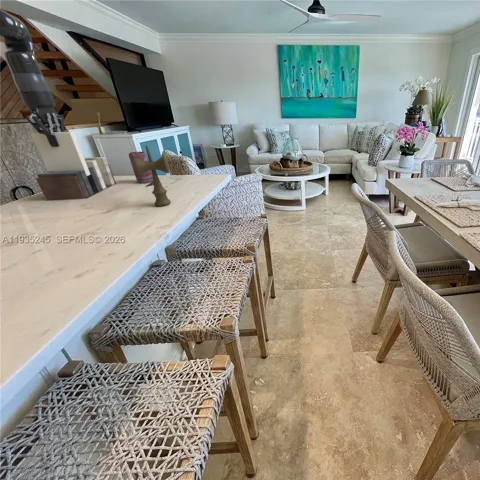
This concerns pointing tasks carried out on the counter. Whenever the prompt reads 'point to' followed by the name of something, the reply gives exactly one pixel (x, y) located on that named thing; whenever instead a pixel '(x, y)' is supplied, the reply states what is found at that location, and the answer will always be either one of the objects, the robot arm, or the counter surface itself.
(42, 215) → the counter surface
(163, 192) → the kendama
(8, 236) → the counter surface
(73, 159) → the cream book
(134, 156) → the can
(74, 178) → the book rack
